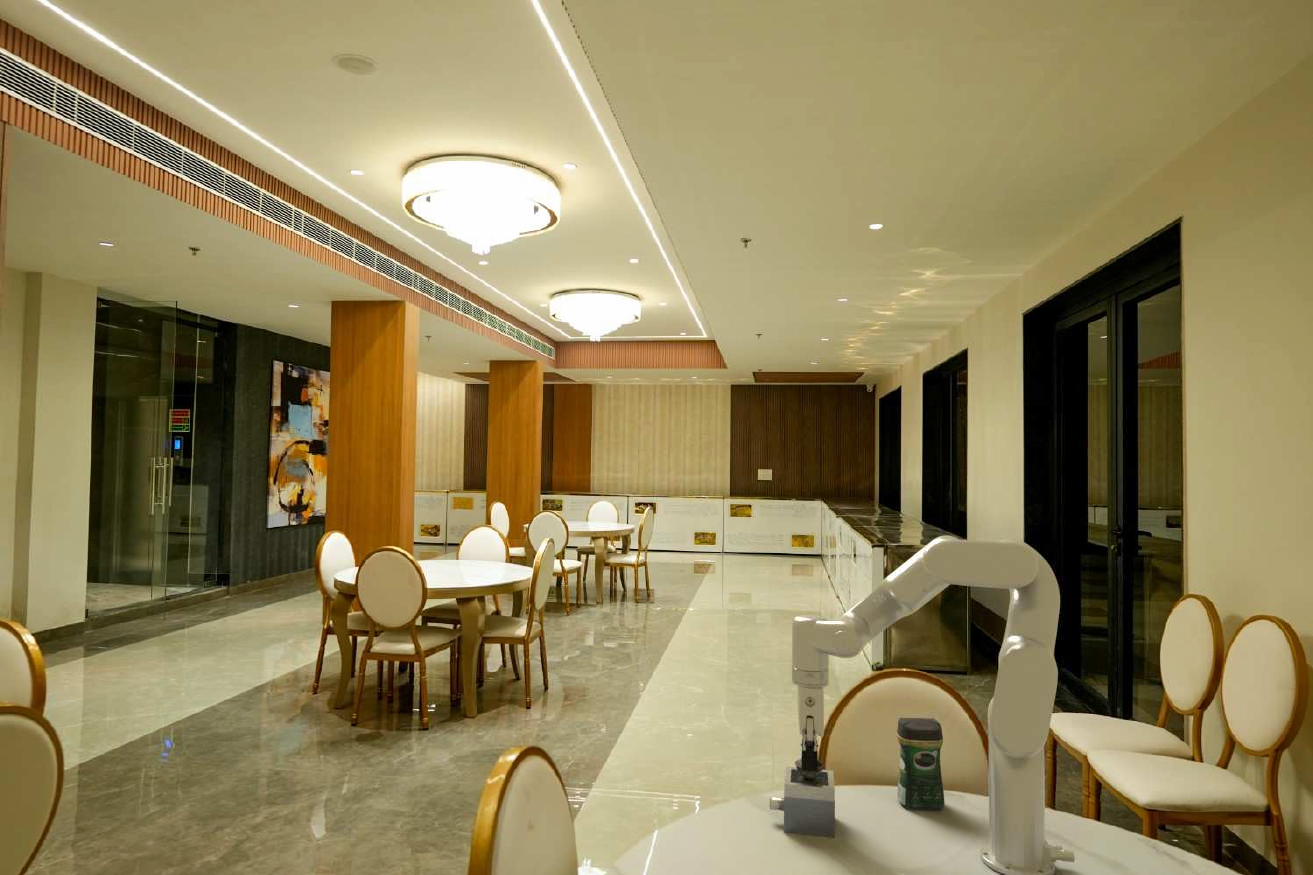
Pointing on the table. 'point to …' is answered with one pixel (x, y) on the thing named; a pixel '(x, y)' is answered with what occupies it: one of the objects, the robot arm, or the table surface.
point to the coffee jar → (920, 764)
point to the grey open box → (807, 805)
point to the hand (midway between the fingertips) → (809, 763)
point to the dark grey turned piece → (808, 776)
